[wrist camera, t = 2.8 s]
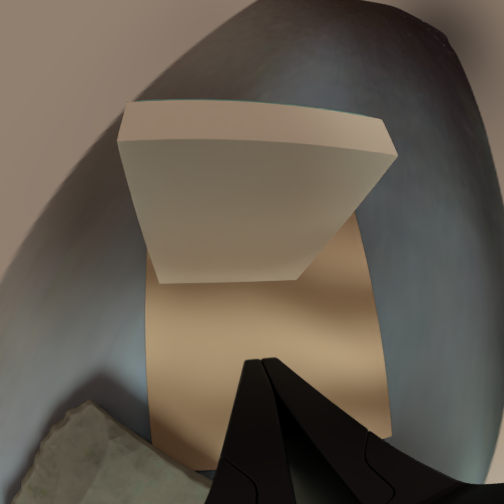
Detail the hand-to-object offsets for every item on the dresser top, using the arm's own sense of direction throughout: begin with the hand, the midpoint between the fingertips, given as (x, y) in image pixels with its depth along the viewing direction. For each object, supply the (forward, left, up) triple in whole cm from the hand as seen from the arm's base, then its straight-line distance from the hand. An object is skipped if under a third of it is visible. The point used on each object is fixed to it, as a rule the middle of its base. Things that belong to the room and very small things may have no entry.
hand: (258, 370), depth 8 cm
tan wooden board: (-2, -4, -7) cm, 9 cm away
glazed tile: (-1, -5, -7) cm, 9 cm away
